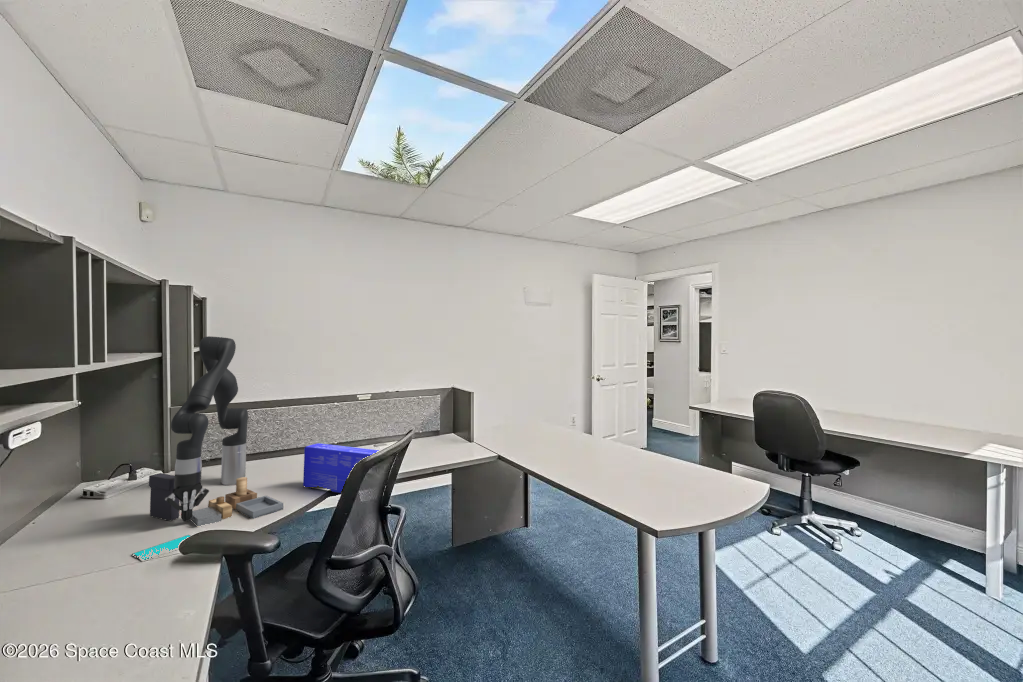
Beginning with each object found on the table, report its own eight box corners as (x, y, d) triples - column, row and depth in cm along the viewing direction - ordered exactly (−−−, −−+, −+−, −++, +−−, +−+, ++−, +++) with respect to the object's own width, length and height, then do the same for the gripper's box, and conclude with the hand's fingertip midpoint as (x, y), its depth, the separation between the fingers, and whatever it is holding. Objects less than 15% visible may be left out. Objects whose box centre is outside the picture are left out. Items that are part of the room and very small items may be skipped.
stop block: (208, 511, 160) (208, 495, 161) (217, 508, 163) (217, 492, 163) (222, 519, 154) (223, 502, 154) (231, 516, 156) (232, 500, 156)
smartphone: (131, 553, 127) (188, 534, 140) (131, 556, 127) (188, 537, 140) (142, 560, 124) (200, 540, 137) (142, 563, 124) (200, 542, 137)
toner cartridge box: (388, 493, 184) (389, 451, 184) (376, 500, 176) (377, 455, 176) (316, 481, 197) (317, 441, 197) (302, 487, 189) (303, 445, 189)
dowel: (233, 504, 168) (234, 478, 168) (243, 501, 171) (244, 476, 171) (238, 506, 166) (239, 480, 166) (248, 503, 169) (248, 478, 169)
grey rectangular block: (189, 520, 153) (189, 511, 153) (212, 514, 159) (212, 506, 159) (197, 528, 147) (197, 519, 147) (221, 522, 152) (221, 513, 152)
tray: (235, 510, 162) (236, 503, 162) (265, 501, 171) (266, 495, 171) (252, 518, 155) (253, 511, 155) (283, 509, 164) (283, 502, 164)
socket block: (225, 504, 167) (225, 494, 167) (247, 498, 174) (247, 488, 174) (234, 509, 163) (235, 499, 163) (256, 503, 169) (257, 493, 169)
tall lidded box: (181, 517, 155) (182, 475, 155) (168, 521, 150) (169, 479, 150) (160, 512, 158) (162, 472, 158) (147, 517, 154) (148, 475, 154)
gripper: (205, 464, 157) (203, 511, 157) (161, 472, 146) (159, 523, 146) (214, 468, 153) (212, 516, 153) (169, 476, 142) (167, 529, 142)
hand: (186, 520), depth 150 cm, fingers closed
